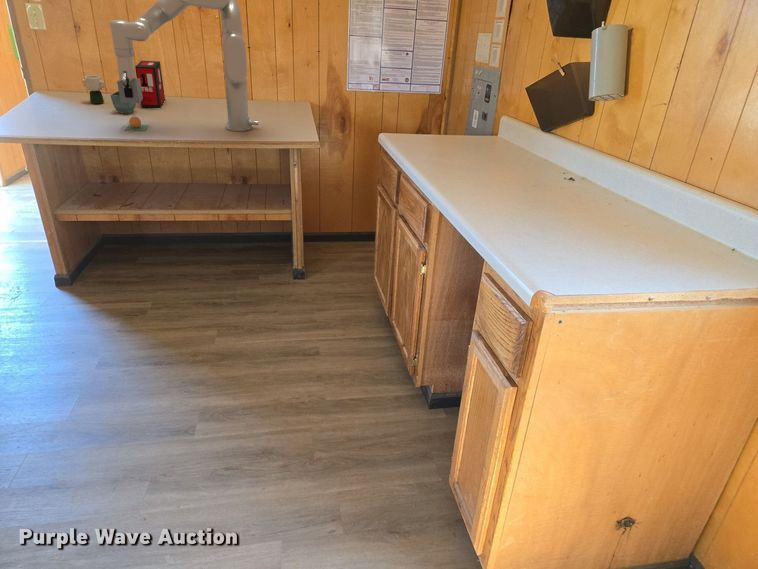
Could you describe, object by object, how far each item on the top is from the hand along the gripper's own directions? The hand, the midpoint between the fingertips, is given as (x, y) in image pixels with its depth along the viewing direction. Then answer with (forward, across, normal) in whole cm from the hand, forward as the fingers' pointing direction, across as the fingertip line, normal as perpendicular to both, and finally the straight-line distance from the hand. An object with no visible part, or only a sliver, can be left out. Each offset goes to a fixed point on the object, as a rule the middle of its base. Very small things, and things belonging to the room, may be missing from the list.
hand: (131, 95), depth 232 cm
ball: (+12, 0, 0) cm, 12 cm away
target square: (+14, 0, 0) cm, 14 cm away
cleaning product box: (+15, -43, 0) cm, 45 cm away
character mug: (+15, -42, -27) cm, 52 cm away
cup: (+2, 0, 0) cm, 2 cm away
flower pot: (+15, -26, -10) cm, 31 cm away
